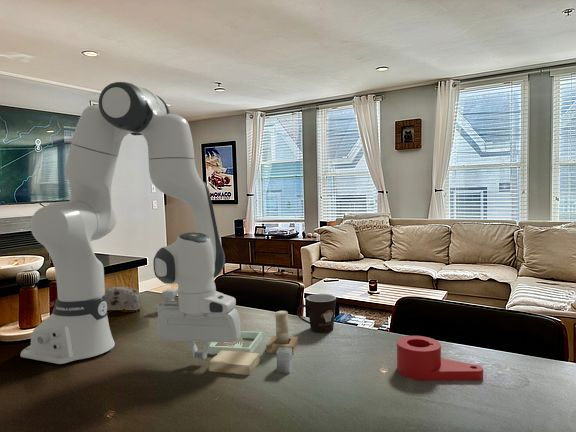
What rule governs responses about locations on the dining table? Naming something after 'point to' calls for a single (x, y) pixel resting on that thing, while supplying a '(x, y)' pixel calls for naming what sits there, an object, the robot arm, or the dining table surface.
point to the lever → (431, 362)
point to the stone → (122, 298)
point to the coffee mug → (320, 312)
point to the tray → (237, 347)
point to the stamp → (170, 294)
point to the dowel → (282, 327)
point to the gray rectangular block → (284, 359)
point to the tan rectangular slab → (234, 362)
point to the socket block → (273, 347)
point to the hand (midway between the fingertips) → (200, 358)
